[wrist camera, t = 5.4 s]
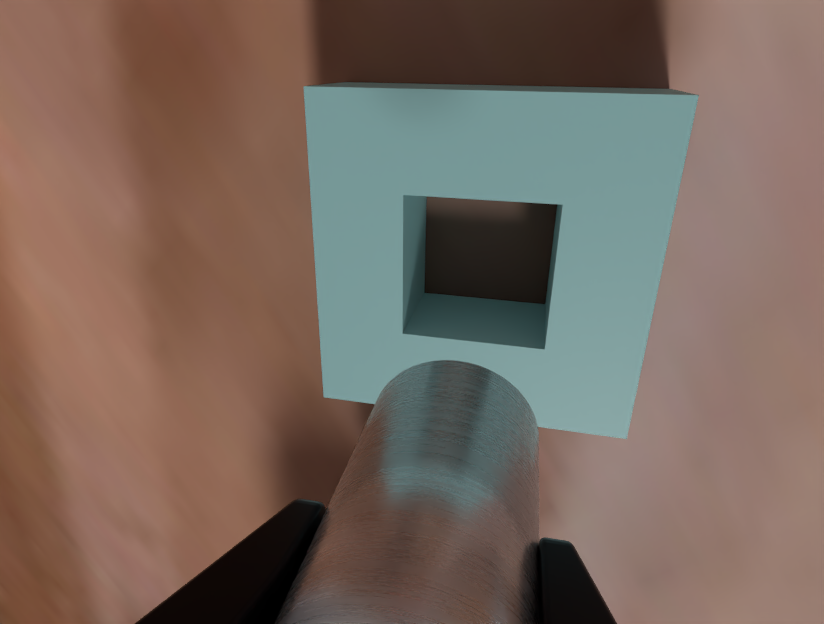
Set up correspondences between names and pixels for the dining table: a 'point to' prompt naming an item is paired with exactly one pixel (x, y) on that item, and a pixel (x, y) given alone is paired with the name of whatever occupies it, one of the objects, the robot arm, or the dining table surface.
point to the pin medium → (431, 510)
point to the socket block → (500, 181)
